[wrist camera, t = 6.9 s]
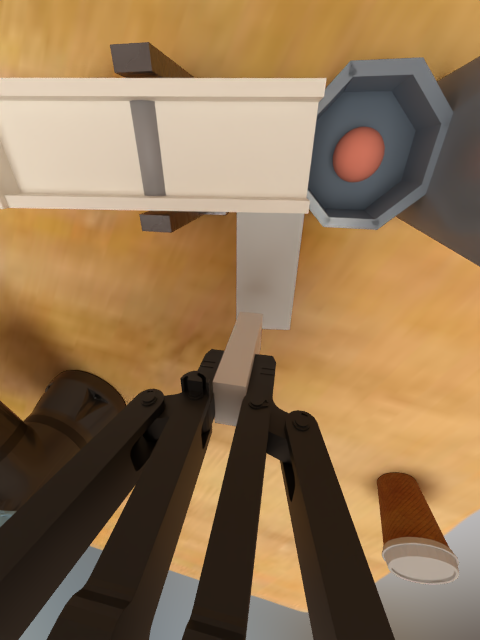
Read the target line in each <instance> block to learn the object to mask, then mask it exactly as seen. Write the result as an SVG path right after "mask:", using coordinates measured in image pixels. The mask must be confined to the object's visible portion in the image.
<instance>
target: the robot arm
mask: <svg viewBox="0 0 480 640" xmlns="http://www.w3.org/2000/svg"><path fill="white" fill-rule="evenodd" d="M262 318H263V314H259V313H249V312H240V313H239V315H238V318H237V320H236V323H235V325H234V328H233V331H232V333H231V336H230V338H229V341H228V344H227V346H226V349H225V351H222V350H214V349H211V350H210V351H209V352H208V353H206V354H205V356H204V359H203V361H202V363H201V365H200V367H199V369H198V371H192V372H188V373H186V374H185V375H183V376H182V377H181V379H180V380H181V387H182V393H179V394H175V395H167V396H164V395H163V393H162V392H161V391H160V390H157V389H148V390H145V391H143V392H141V393H140V394H138V395H137V396H136V397H135V398H134V399H133V400H132V401H131V402H130V403H129V404H128V405H127V406H126V405H125V403H124V401H123V399H122V398H121V396H120V395H119V394H118V392H117V391H116V390H115V389H114V388H113V387H111V386H110V385H109V384H108V383H106V382H105V381H103V380H102V379H100V378H98V377H96V376H94V375H92V374H89V373H86V372H82V371H75V370H71V371H65V372H62V373H60V374H59V375H58V376H57V377H56V378H55V379H53V380H52V381H51V382H50V383H49V385H48V386H47V388H46V390H45V393H44V394H43V396H42V397H41V399H40V400H39V402H38V403H37V405H36V407H35V408H34V410H33V412H32V413H31V414H30V415H29V416H28V417H27V418H26V419H25V420H24V421H22V420H21V419H20V418H19V417H18V416H17V415H16V414H14V413H13V412H12V411H11V410H10V409H9V408H8V407H7V406H6V405H4V404H3V403H2V402H1V401H0V640H18V639H19V638H20V637H21V635H22V634H23V633H24V631H25V630H26V629H27V628H28V626H29V625H30V623H31V622H32V621H33V620H34V618H35V617H36V615H37V614H38V613H39V612H40V610H41V609H42V608H43V606H44V605H45V604H46V602H47V601H48V600H49V598H50V597H51V596H52V594H53V593H54V592H55V590H56V589H57V588H58V587H59V585H60V584H61V583H62V581H63V580H64V578H65V577H66V576H67V574H68V573H69V572H70V571H71V569H72V568H73V567H74V565H75V564H76V563H77V561H78V560H79V559H80V557H81V556H82V555H83V553H84V552H85V551H86V550H87V548H88V547H89V546H90V544H91V543H92V542H93V540H94V539H95V538H96V536H97V535H98V534H99V532H100V531H101V530H102V528H103V527H104V526H105V524H106V523H107V522H108V520H109V519H110V518H111V516H112V515H113V514H114V512H115V511H116V510H117V509H118V507H119V506H120V505H121V503H122V502H123V501H124V499H125V498H126V497H127V495H128V494H129V493H130V491H131V490H132V489H133V487H134V486H135V487H134V489H133V491H132V493H131V495H130V497H129V499H128V501H127V503H126V505H125V507H124V509H123V511H122V513H121V515H120V517H119V519H118V521H117V523H116V525H115V527H114V529H113V531H112V533H111V535H110V537H109V539H108V541H107V543H106V545H105V547H104V549H103V552H102V554H101V555H100V558H99V560H98V562H97V564H96V566H95V568H94V570H93V572H92V574H91V576H90V578H89V579H88V581H87V583H86V584H85V585H84V587H83V588H82V589H81V590H79V591H78V592H77V593H75V594H74V595H73V596H72V597H71V599H70V600H69V601H68V602H67V604H66V605H65V607H64V608H63V610H62V612H61V613H60V615H59V617H58V619H57V621H56V623H55V625H54V626H53V628H52V630H51V632H50V634H49V636H48V638H47V640H149V635H150V630H151V625H152V622H153V618H154V615H155V612H156V609H157V606H158V602H159V599H160V596H161V593H162V589H163V586H164V583H165V580H166V577H167V574H168V571H169V567H170V564H171V561H172V558H173V555H174V551H175V548H176V545H177V542H178V539H179V536H180V532H181V529H182V526H183V523H184V520H185V517H186V513H187V510H188V507H189V504H190V501H191V497H192V494H193V491H194V488H195V485H196V482H197V478H198V475H199V472H200V469H201V466H202V462H203V459H204V456H205V453H206V450H207V447H208V443H209V440H210V437H211V434H212V423H213V419H214V416H215V423H220V424H226V425H232V426H236V429H235V433H234V437H233V442H232V446H231V450H230V454H229V458H228V463H227V467H226V471H225V475H224V480H223V484H222V488H221V492H220V496H219V501H218V505H217V509H216V513H215V518H214V522H213V526H212V530H211V534H210V539H209V543H208V547H207V551H206V555H205V560H204V564H203V568H202V572H201V577H200V581H199V585H198V590H197V593H196V598H195V602H194V606H193V610H192V614H191V617H190V620H189V622H188V624H187V626H186V629H185V632H184V635H183V638H182V640H246V631H247V622H248V613H249V604H250V595H251V586H252V577H253V568H254V559H255V550H256V541H257V532H258V523H259V514H260V505H261V496H262V487H263V478H264V469H265V460H266V453H267V454H269V455H271V456H273V457H275V458H277V459H279V460H280V463H281V469H282V474H283V479H284V485H285V490H286V495H287V501H288V506H289V511H290V517H291V522H292V527H293V532H294V538H295V543H296V548H297V554H298V559H299V564H300V570H301V575H302V580H303V586H304V591H305V596H306V602H307V607H308V612H309V618H310V623H311V628H312V633H313V639H314V640H395V638H394V636H393V633H392V630H391V627H390V625H389V622H388V619H387V616H386V613H385V611H384V608H383V605H382V602H381V600H380V597H379V594H378V591H377V588H376V585H375V583H374V580H373V577H372V574H371V571H370V569H369V566H368V563H367V560H366V557H365V555H364V552H363V549H362V546H361V544H360V541H359V538H358V535H357V532H356V530H355V527H354V524H353V521H352V518H351V516H350V513H349V510H348V507H347V504H346V502H345V499H344V496H343V493H342V490H341V488H340V485H339V482H338V479H337V476H336V474H335V471H334V468H333V465H332V463H331V460H330V457H329V454H328V451H327V449H326V446H325V443H324V440H323V437H322V435H321V432H320V429H319V426H318V423H317V421H316V420H315V418H314V417H313V416H312V415H311V414H309V413H307V412H305V411H299V410H297V411H292V412H291V413H287V412H285V411H283V410H281V409H279V408H278V407H277V406H276V405H275V403H274V402H273V398H272V396H273V387H274V377H275V368H276V362H275V360H274V357H273V356H267V355H259V354H260V349H261V334H262Z"/></svg>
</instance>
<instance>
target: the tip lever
mask: <svg viewBox="0 0 480 640" xmlns="http://www.w3.org/2000/svg"><path fill="white" fill-rule="evenodd" d="M326 79H327V78H0V209H5V208H48V209H99V210H149V211H201V212H237V287H236V320H237V318H238V315H239V313H240V312H249V313H259V314H263V318H262V329H278V330H290V323H291V315H292V307H293V299H294V291H295V284H296V276H297V268H298V260H299V252H300V244H301V236H302V229H303V221H304V214H308V212H309V205H310V200H308V199H307V198H306V197H307V189H308V182H309V174H310V166H311V158H312V150H313V142H314V134H315V127H316V119H317V111H318V103H319V101H320V100H321V99H322V98H323V97H324V94H325V86H326Z"/></svg>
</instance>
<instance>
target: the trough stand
mask: <svg viewBox="0 0 480 640" xmlns="http://www.w3.org/2000/svg"><path fill="white" fill-rule="evenodd" d="M110 48H111V54H112V59H113V65H114V71H115V73H117V74H119V75H121V76H123V77H125V78H194V77H193V76H192V75H190V74H189V73H188V72H186V71H185V70H184V69H183V68H181V67H180V66H179V65H177V64H176V63H175V62H174V61H172V60H171V59H170V58H168V57H167V56H166V55H164V54H163V53H162V52H161V51H159V50H158V49H157V48H155V47H154V46H153V45H151V44H150V43H149V42H145V43H129V44H113V45H110ZM204 214H212V215H227V214H228V212H201V211H148V212H145V213H142V214H139V215H140V220H141V226H142V231H153V232H170V233H172V232H173V231H175V230H177V229H179V228H181V227H182V226H184V225H186V224H188V223H190V222H191V221H193V220H195V219H197V218H199V217H200V216H202V215H204Z"/></svg>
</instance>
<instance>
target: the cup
mask: <svg viewBox="0 0 480 640" xmlns="http://www.w3.org/2000/svg"><path fill="white" fill-rule="evenodd" d="M358 127H371V128H373V129H375V130H377V131H378V132H379V133H380V135H381V136H382V138H383V141H384V145H385V152H384V157H383V160H382V162H381V164H380V166H379V168H378V169H377V170H376V171H375V173H373V174H372V175H371V176H370V177H369V178H367V179H365V180H363V181H360V182H347V181H344V180H342V179H341V178H340V177H339V176H338V175H337V174H336V172H335V170H334V167H333V153H334V150H335V147H336V145H337V143H338V142H339V140H340V139H341V138H342V137H343V136H344V135H345V134H346V133H347V132H349V131H350V130H352V129H355V128H358ZM306 198H307V199H308V200H310V205H309V209H310V211H311V212H312V213H313V215H314V216H315V217H316V218H317V220H318V221H319V222H320V223H321V225H322V226H323V227H336V228H355V229H375V230H377V229H379V228H380V227H381V226H383V225H384V224H385V223H387V222H388V221H390V220H391V219H392V218H394V217H395V216H396V217H397V218H399V219H401V220H402V221H404V222H406V223H407V224H409V225H411V226H413V227H414V228H416V229H418V230H419V231H421V232H423V233H424V234H426V235H428V236H429V237H431V238H433V239H434V240H436V241H438V242H439V243H441V244H443V245H444V246H446V247H448V248H449V249H451V250H453V251H455V252H456V253H458V254H460V255H461V256H463V257H465V258H466V259H468V260H470V261H471V262H473V263H475V264H476V265H478V266H480V56H479V57H478V58H476V59H474V60H473V61H471V62H469V63H468V64H466V65H464V66H462V67H461V68H459V69H457V70H456V71H454V72H452V73H450V74H449V75H447V76H445V77H444V78H442V79H440V80H438V81H437V82H436V80H435V78H434V76H433V74H432V73H431V71H430V69H429V67H428V65H427V64H426V62H425V60H424V58H401V59H379V60H357V61H350V62H349V63H348V64H347V65H346V67H345V68H344V69H343V70H342V71H341V72H340V73H339V74H338V75H337V76H336V78H335V79H334V80H333V81H332V82H331V83H330V84H329V85H328V86H327V88H326V89H325V94H324V97H323V98H322V99H321V100H320V101H319V103H318V111H317V119H316V127H315V134H314V142H313V150H312V158H311V166H310V174H309V182H308V189H307V197H306Z"/></svg>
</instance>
